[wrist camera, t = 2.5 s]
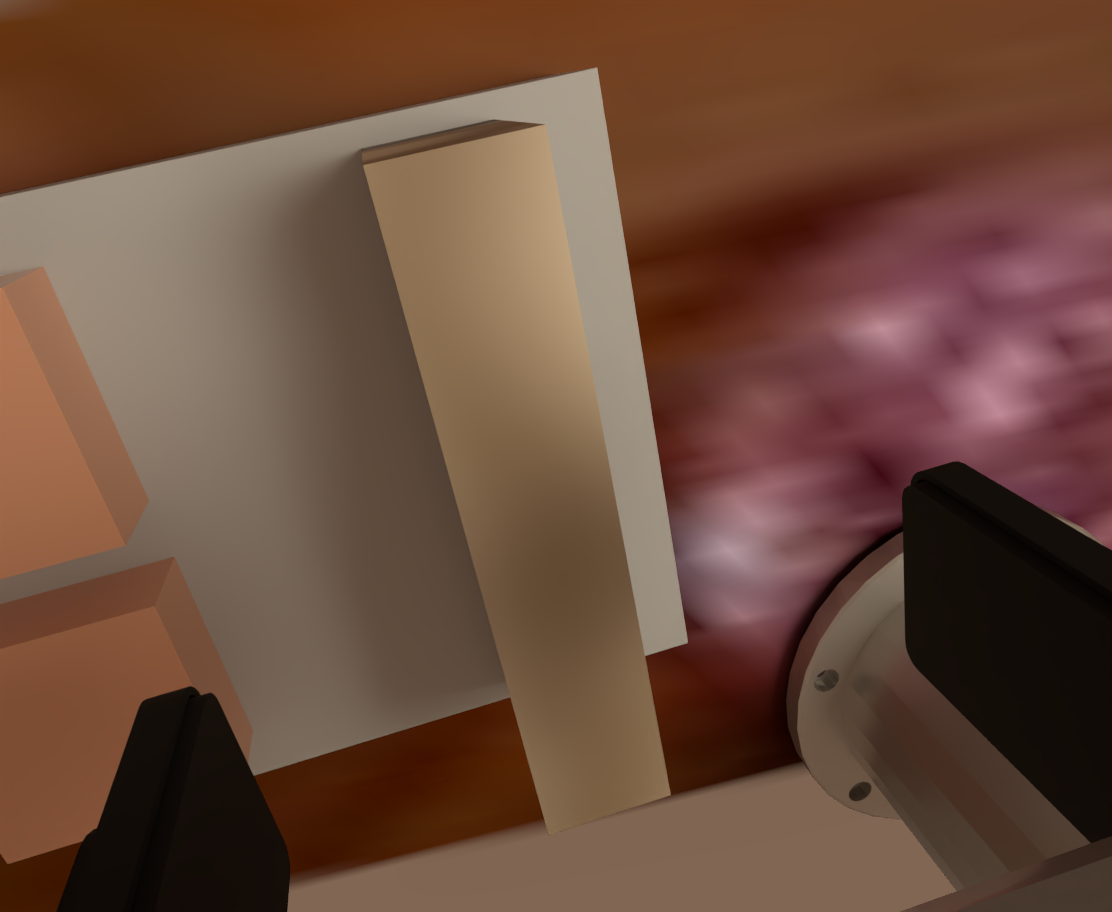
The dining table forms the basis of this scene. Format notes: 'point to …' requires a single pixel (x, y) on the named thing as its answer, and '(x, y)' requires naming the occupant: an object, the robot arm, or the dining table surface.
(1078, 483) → the dining table surface
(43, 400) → the tile
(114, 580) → the tile
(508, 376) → the tan long block
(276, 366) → the bench board
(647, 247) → the dining table surface
